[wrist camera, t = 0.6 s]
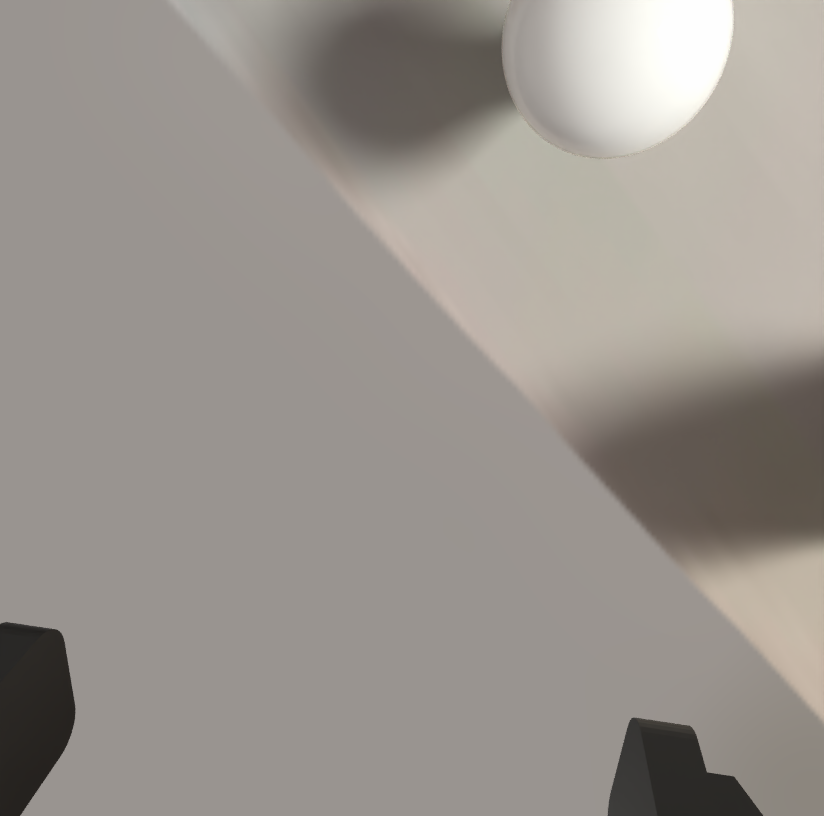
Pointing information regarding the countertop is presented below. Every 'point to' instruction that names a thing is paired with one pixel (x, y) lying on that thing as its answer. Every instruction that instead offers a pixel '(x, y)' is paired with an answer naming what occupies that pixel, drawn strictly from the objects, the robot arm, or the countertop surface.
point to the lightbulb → (613, 69)
